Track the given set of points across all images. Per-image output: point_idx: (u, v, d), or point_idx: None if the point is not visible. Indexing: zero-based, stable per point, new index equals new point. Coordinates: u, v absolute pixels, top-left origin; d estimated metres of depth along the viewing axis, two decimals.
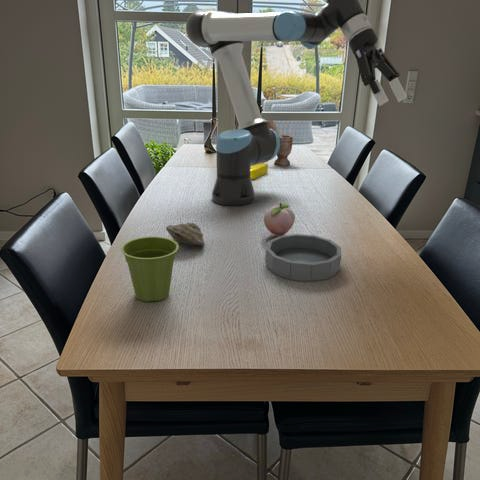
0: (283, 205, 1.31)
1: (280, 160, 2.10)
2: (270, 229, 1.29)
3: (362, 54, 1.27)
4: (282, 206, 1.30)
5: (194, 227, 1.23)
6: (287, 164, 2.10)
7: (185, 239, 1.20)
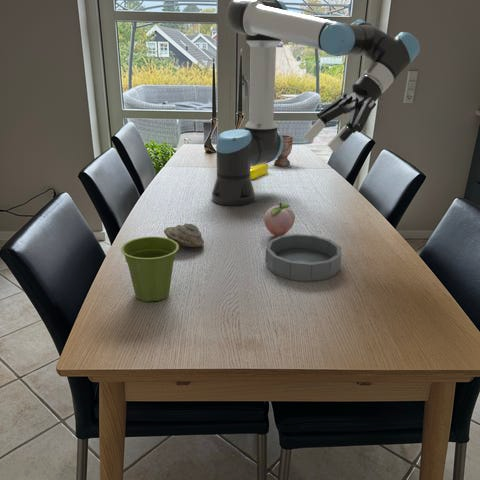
0: (283, 205, 1.31)
1: (280, 160, 2.10)
2: (270, 229, 1.29)
3: (371, 108, 1.20)
4: (282, 206, 1.30)
5: (191, 229, 1.22)
6: (287, 164, 2.10)
7: (184, 244, 1.20)
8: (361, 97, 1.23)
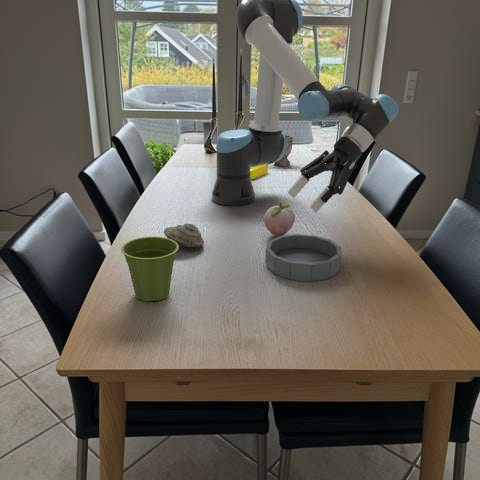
0: (283, 205, 1.31)
1: (280, 160, 2.10)
2: (270, 229, 1.29)
3: (351, 170, 1.24)
4: (282, 206, 1.30)
5: (191, 230, 1.22)
6: (287, 164, 2.10)
7: (183, 245, 1.20)
8: (341, 158, 1.27)
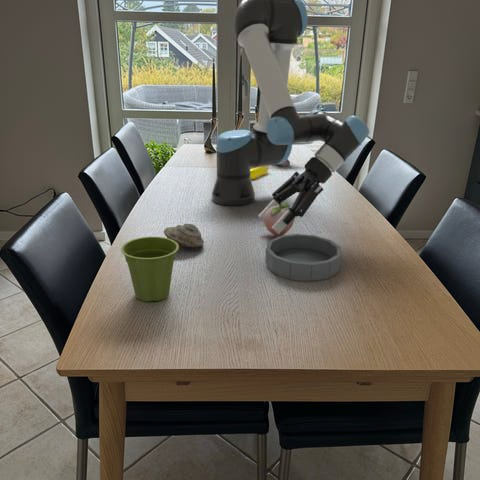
0: (283, 205, 1.31)
1: None
2: (270, 229, 1.29)
3: (317, 193, 1.25)
4: (282, 206, 1.30)
5: (191, 230, 1.22)
6: (287, 164, 2.10)
7: (183, 245, 1.20)
8: (311, 178, 1.27)
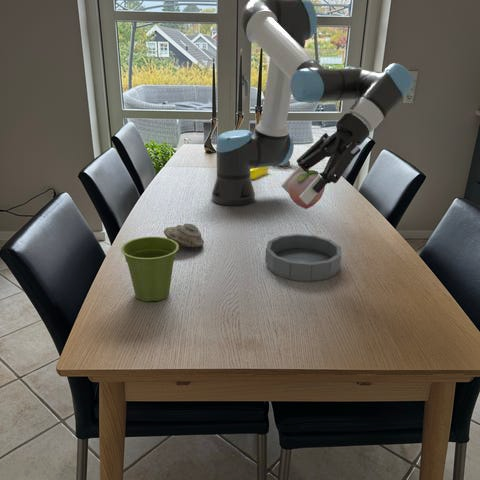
0: (311, 171, 1.10)
1: None
2: (296, 199, 1.09)
3: (354, 155, 1.04)
4: (310, 173, 1.10)
5: (191, 230, 1.22)
6: (287, 164, 2.10)
7: (183, 245, 1.20)
8: (345, 138, 1.07)
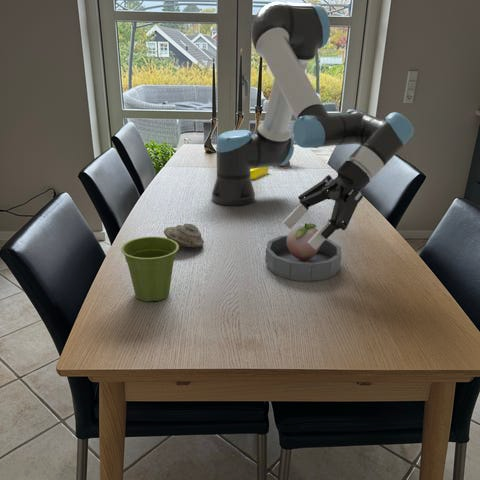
0: (309, 225, 1.13)
1: None
2: (294, 253, 1.12)
3: (357, 201, 1.06)
4: (307, 227, 1.13)
5: (191, 230, 1.22)
6: (287, 164, 2.10)
7: (183, 245, 1.20)
8: (346, 186, 1.09)
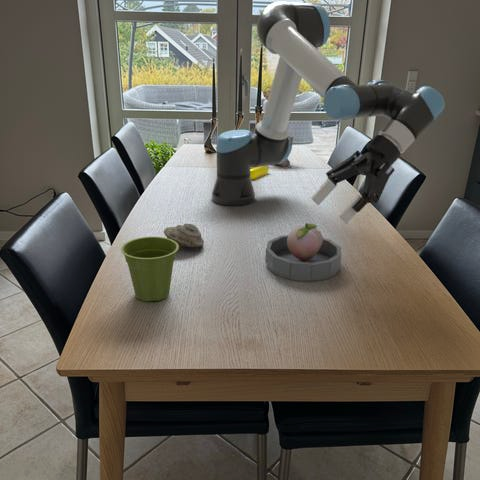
0: (309, 225, 1.13)
1: None
2: (295, 253, 1.12)
3: (389, 175, 1.06)
4: (308, 227, 1.13)
5: (191, 230, 1.22)
6: (287, 164, 2.10)
7: (183, 245, 1.20)
8: (377, 160, 1.09)
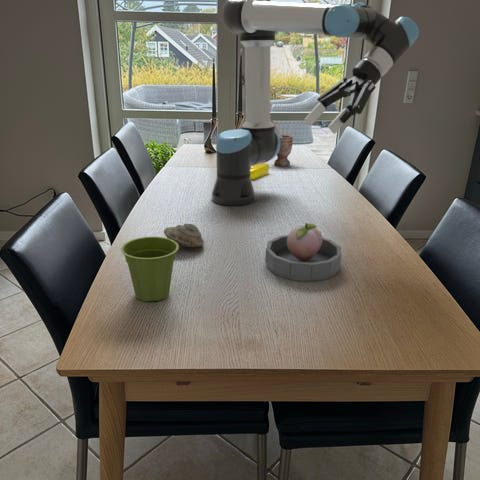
0: (309, 225, 1.13)
1: (280, 160, 2.10)
2: (295, 253, 1.12)
3: (371, 91, 1.23)
4: (308, 227, 1.13)
5: (191, 230, 1.22)
6: (287, 164, 2.10)
7: (183, 245, 1.20)
8: (360, 80, 1.26)
